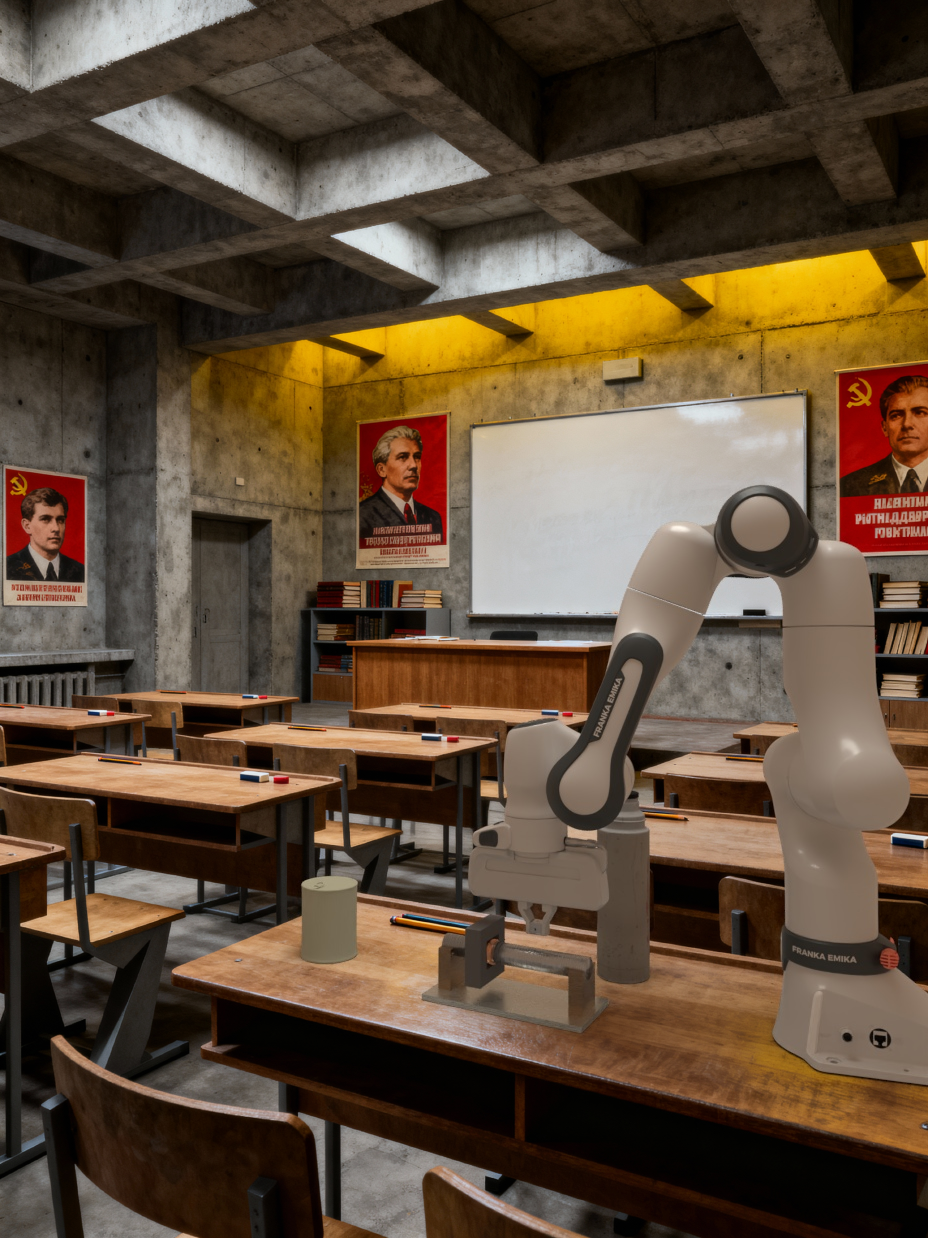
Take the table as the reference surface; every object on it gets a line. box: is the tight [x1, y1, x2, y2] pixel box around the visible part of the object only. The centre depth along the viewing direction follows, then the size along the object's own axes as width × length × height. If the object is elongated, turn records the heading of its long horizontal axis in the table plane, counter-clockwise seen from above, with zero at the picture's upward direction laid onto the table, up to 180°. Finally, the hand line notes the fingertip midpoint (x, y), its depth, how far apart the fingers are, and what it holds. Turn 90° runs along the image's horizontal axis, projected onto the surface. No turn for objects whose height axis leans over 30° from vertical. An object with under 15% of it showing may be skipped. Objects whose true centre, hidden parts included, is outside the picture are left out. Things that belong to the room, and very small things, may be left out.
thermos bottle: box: [596, 790, 651, 984], centre depth 142 cm, size 8×8×28 cm
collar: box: [464, 913, 506, 989], centre depth 132 cm, size 2×8×8 cm, turn 152°
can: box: [299, 875, 359, 965], centre depth 150 cm, size 9×9×12 cm
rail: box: [421, 932, 610, 1034], centre depth 130 cm, size 24×11×8 cm, turn 62°
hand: (537, 934), depth 129 cm, fingers closed
